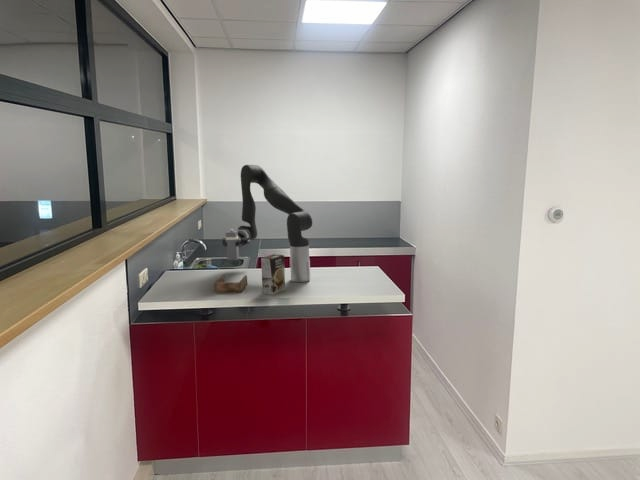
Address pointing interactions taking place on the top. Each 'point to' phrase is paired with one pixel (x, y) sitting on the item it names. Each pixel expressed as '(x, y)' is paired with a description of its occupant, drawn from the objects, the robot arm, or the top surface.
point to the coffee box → (273, 274)
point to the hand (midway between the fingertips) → (231, 244)
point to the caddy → (230, 285)
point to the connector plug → (232, 245)
